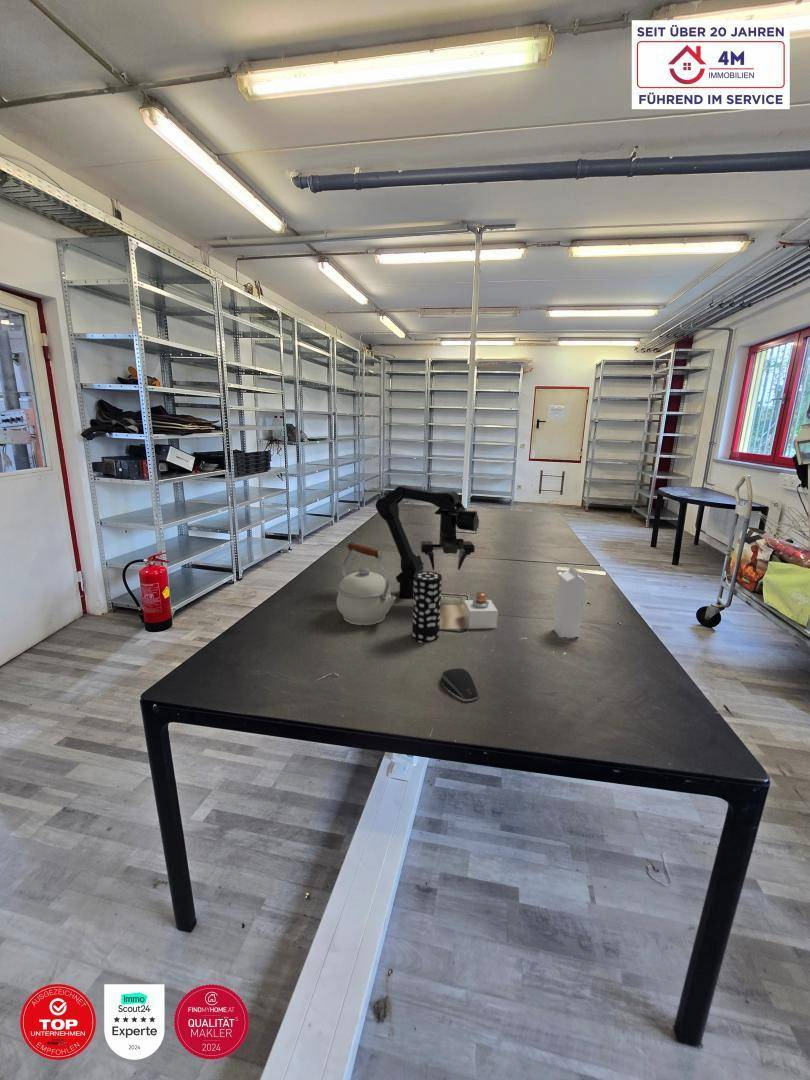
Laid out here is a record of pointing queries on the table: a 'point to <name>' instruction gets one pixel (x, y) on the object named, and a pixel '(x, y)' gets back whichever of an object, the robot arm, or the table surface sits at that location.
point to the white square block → (480, 615)
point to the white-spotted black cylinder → (426, 606)
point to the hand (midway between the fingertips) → (446, 569)
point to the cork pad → (452, 617)
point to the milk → (569, 604)
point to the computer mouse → (459, 683)
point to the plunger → (480, 600)
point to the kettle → (364, 591)
